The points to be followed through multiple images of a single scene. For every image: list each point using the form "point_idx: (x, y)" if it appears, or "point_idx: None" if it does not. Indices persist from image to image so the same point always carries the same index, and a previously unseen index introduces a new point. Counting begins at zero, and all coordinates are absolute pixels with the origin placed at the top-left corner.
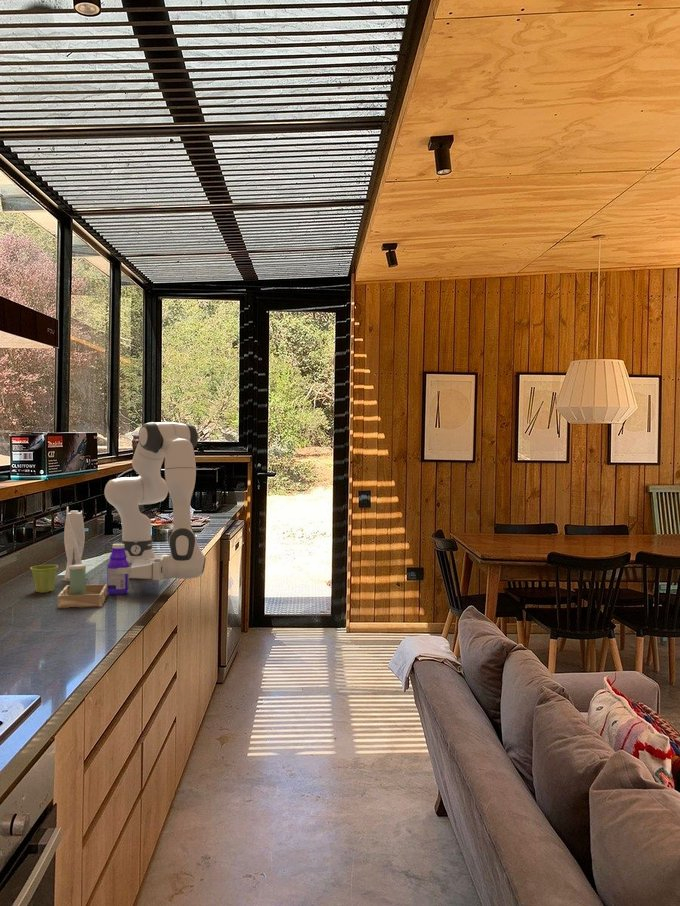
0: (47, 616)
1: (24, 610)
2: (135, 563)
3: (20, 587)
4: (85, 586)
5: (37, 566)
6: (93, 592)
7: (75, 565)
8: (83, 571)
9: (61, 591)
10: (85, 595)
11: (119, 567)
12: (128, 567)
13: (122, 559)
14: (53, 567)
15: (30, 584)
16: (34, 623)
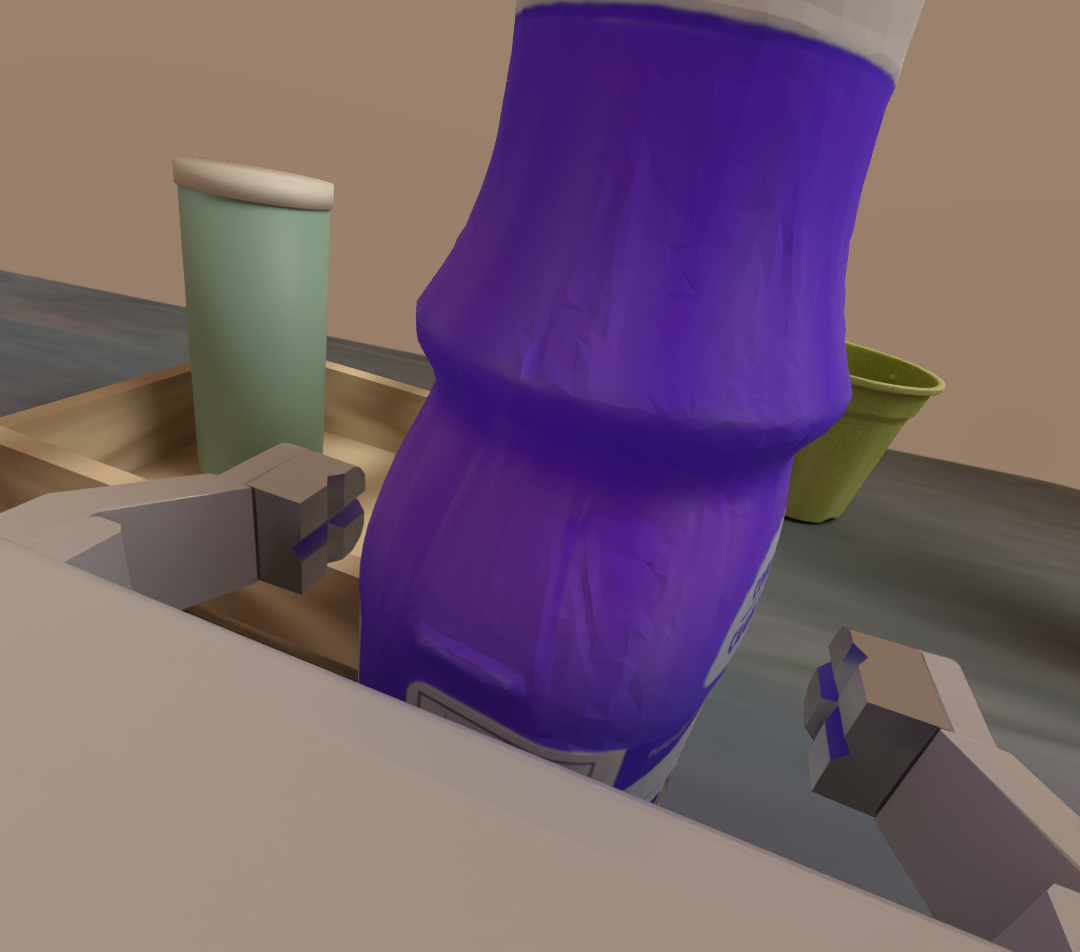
0: (122, 356)
1: (343, 362)
2: (125, 722)
3: (898, 471)
4: (199, 362)
5: (896, 363)
6: None
7: (291, 176)
8: (180, 213)
9: (374, 375)
10: (108, 390)
11: (327, 470)
12: (69, 528)
13: (436, 378)
14: (919, 401)
15: (993, 510)
16: (49, 316)
